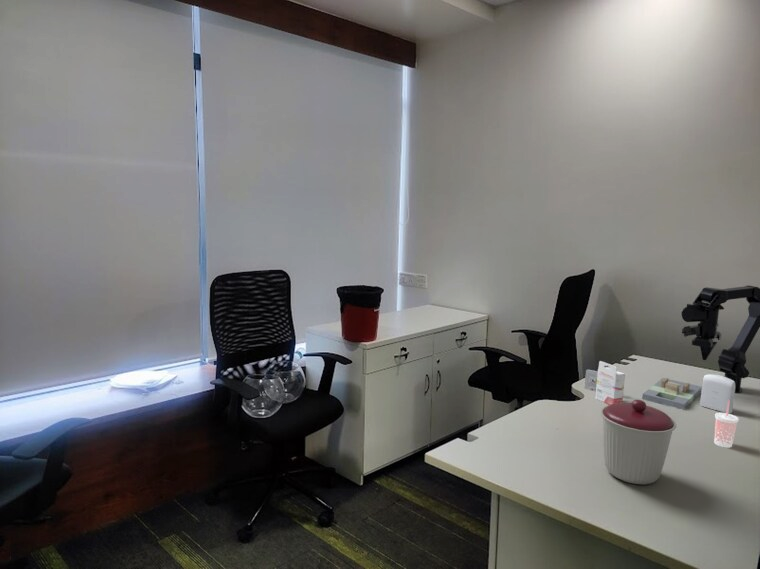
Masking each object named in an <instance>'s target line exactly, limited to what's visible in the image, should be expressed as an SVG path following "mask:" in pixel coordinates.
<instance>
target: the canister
mask: <svg viewBox="0 0 760 569" xmlns="http://www.w3.org/2000/svg"><path fill="white" fill-rule="evenodd" d="M600 415H601V416H602V428H603V429H602V432H603V433H602V438H603V440H602V441H603V457H604V458H603V460H604V465H605V467H606V469H607V471H608V472H609V473H610V474H611V475H612V476H614V477H615V478H617V479H619V480H621V481H623V482H626V483H629V484H633V485H634V484H635V485H651V484H653V483H654V482H656V481H657V480H658V479H659V478H660V477H661V474H662V472H663V468H664V465H665V462H666V459H667V458H666V457H667V453H668V450H669V446H670V443H671V439H672V434H673V431H675V429H676V428H677V423H676V420H674V419H673V417H671V416H669V415H668V414H667V413H666V412H664V411H662V410H660V409H658V408H655V407H652V406H650V405H647V404H646V402H645V401H644V400H643V399H634V400H632V402H622V403H614V404H611V405H609V404H607V405H606V406H603V407H602V408H601V409H600Z"/></svg>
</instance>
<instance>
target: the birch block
mask: <svg viewBox="0 0 760 569" xmlns="http://www.w3.org/2000/svg"><path fill="white" fill-rule="evenodd" d="M679 388H680V384H676V383H672V382H667V383H666V384H665V391H664V392H667V393H671V394H675V395H676V394H677V393H678V392H679Z"/></svg>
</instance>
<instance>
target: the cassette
mask: <svg viewBox="0 0 760 569" xmlns="http://www.w3.org/2000/svg"><path fill="white" fill-rule="evenodd" d="M597 374H598V370H591V369H586V370H585V378H584V389H586V390H589V391H593V392H596V385H597Z"/></svg>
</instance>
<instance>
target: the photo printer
mask: <svg viewBox="0 0 760 569" xmlns="http://www.w3.org/2000/svg"><path fill="white" fill-rule="evenodd" d="M701 387H702V390H701V392H700V402H699V406H700V407H703V408H704V407H705V408H707V409H709V410H710V409H711V410H715V411H718V412H720V413H726V412H727V405H728V401H730V404H729V411H728V414H732V413H733V410H734V402H735V400H734V399H735V393H736V392H735V382H734V381H733V380H731V379H729V378H726V377H724V376H723V375H720V374H704V376H703V379H702V384H701Z"/></svg>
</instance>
